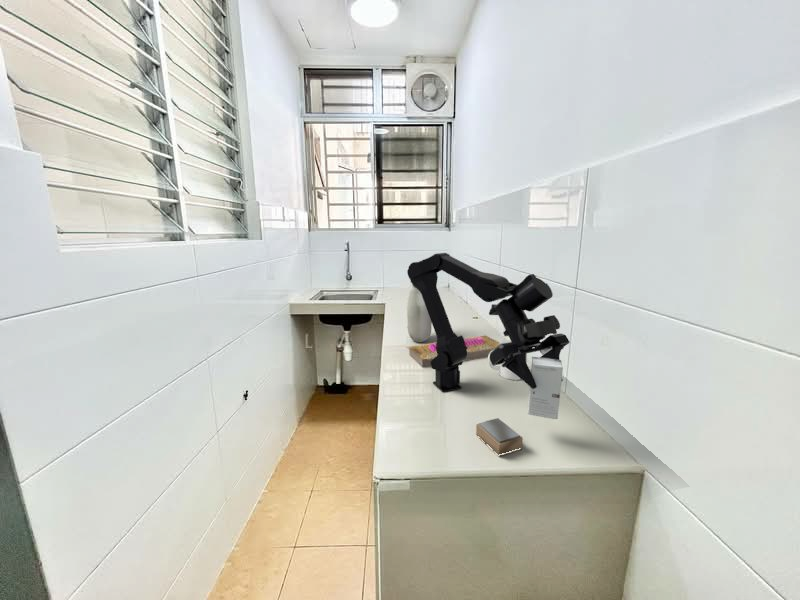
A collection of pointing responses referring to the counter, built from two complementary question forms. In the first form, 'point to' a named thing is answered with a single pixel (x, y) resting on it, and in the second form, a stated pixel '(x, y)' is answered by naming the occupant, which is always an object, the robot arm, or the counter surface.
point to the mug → (503, 370)
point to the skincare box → (545, 387)
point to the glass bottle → (417, 316)
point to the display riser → (499, 436)
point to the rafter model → (471, 345)
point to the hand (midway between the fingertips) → (548, 384)
